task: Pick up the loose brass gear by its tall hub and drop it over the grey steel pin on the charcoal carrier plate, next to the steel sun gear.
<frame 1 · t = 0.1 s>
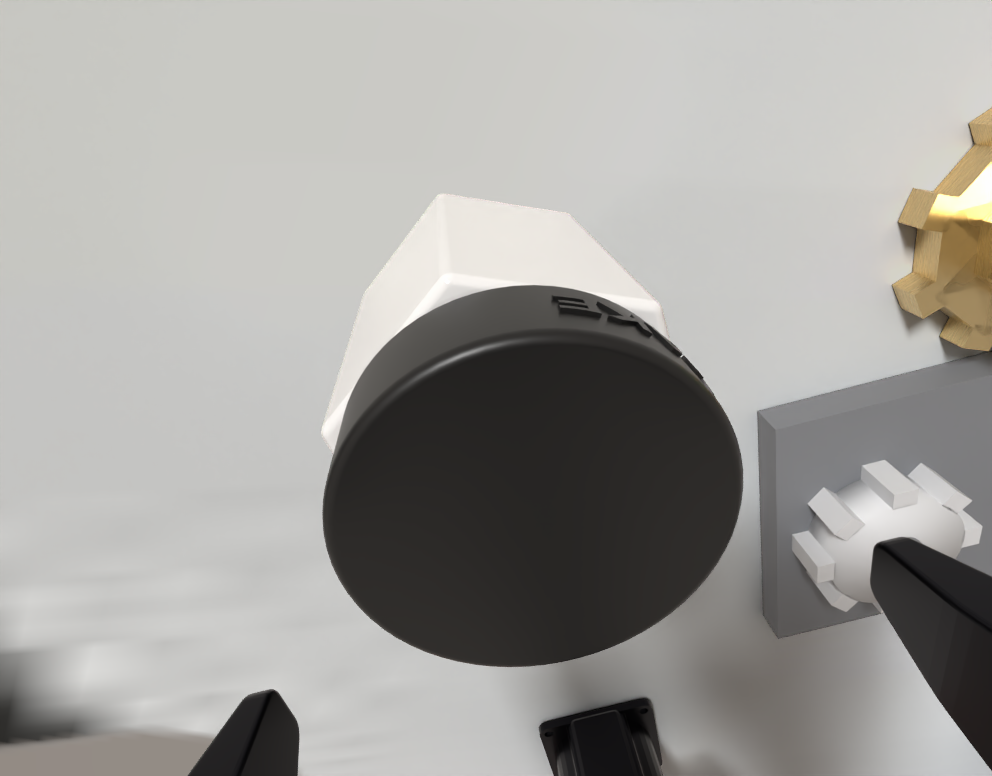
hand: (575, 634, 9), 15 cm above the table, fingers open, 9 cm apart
carrier plate: (947, 477, 28), on the table
jar: (486, 308, 22), on the table
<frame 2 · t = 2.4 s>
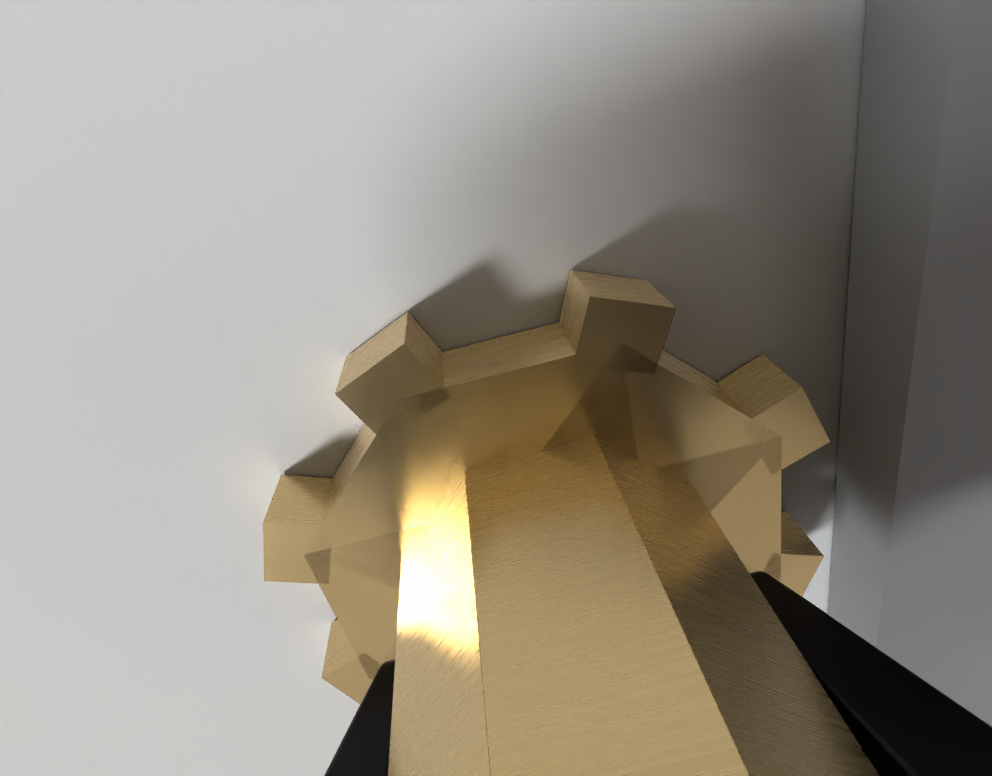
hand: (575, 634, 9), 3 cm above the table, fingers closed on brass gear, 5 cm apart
brass gear: (545, 520, 11), on the table, touching gripper
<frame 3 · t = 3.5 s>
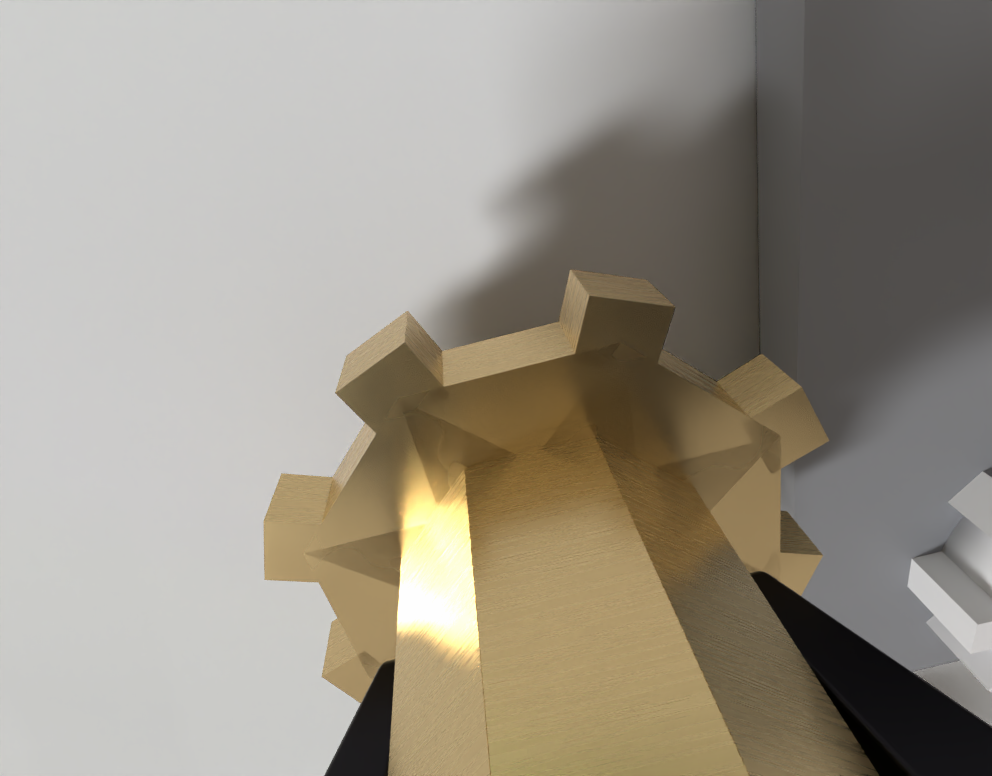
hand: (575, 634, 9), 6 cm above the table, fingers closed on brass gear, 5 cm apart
brass gear: (545, 519, 11), point 3 cm above the table, touching gripper
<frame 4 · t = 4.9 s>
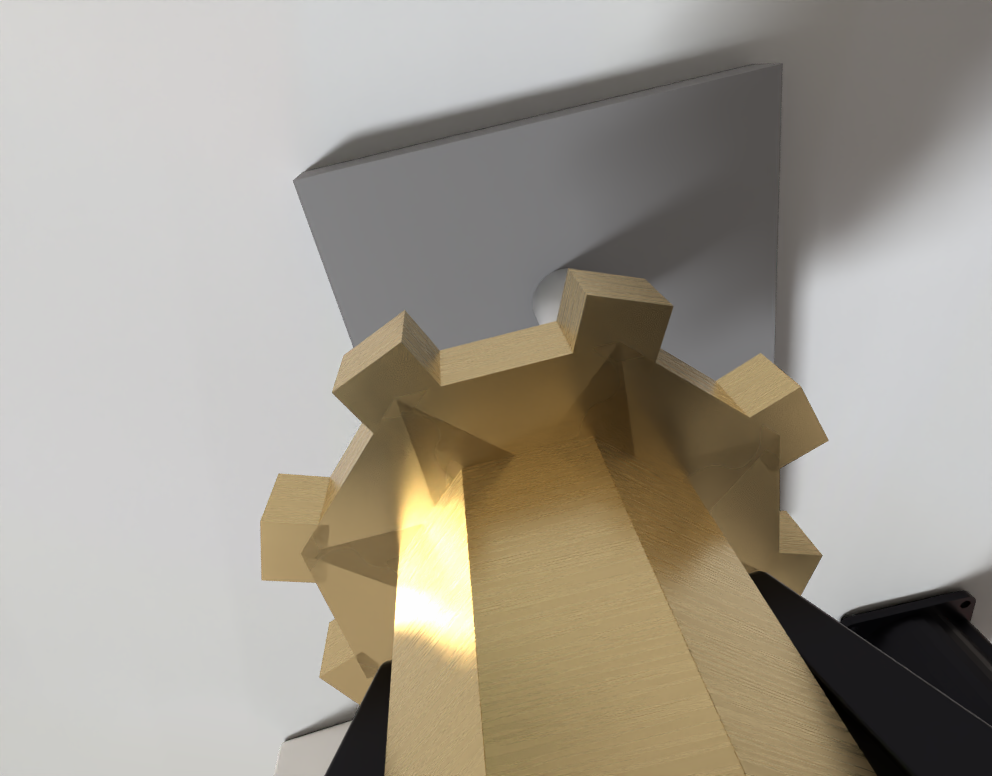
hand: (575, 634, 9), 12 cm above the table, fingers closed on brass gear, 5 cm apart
carrier plate: (573, 390, 21), on the table
brass gear: (543, 519, 11), point 10 cm above the table, touching gripper
jar: (359, 763, 30), on the table
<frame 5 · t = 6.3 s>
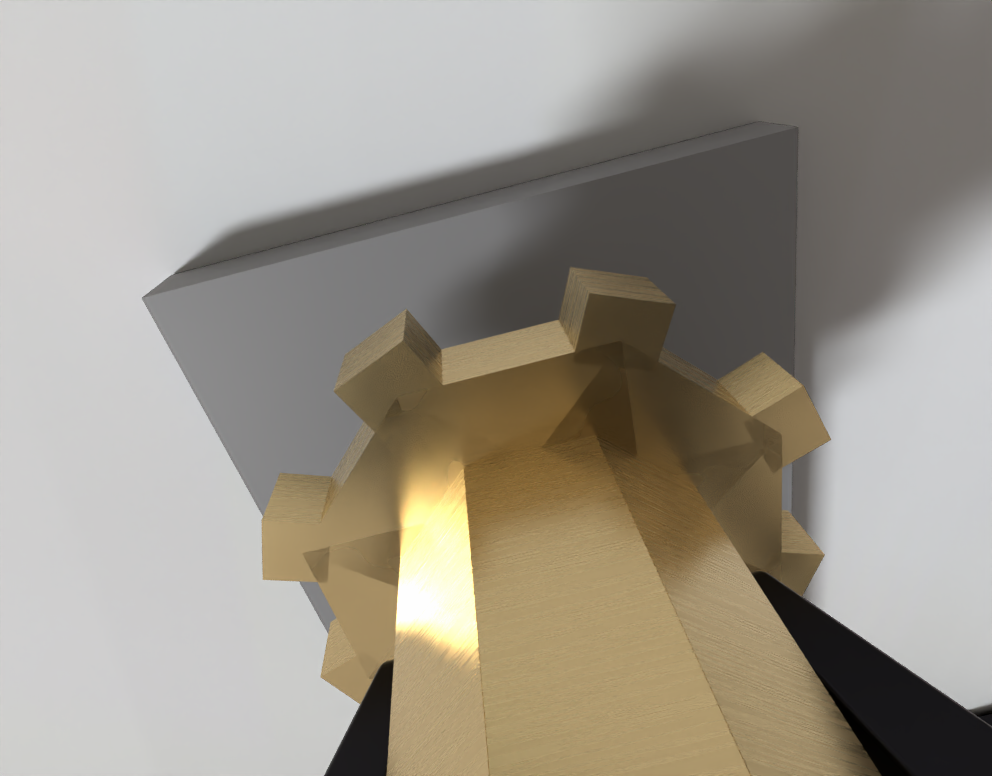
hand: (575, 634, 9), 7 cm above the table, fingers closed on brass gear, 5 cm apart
carrier plate: (541, 513, 17), on the table
brass gear: (545, 519, 11), point 5 cm above the table, touching gripper
when the fingers open (5 cm above the table, at t = 7.2 s): brass gear stays where it is, resting on carrier plate.
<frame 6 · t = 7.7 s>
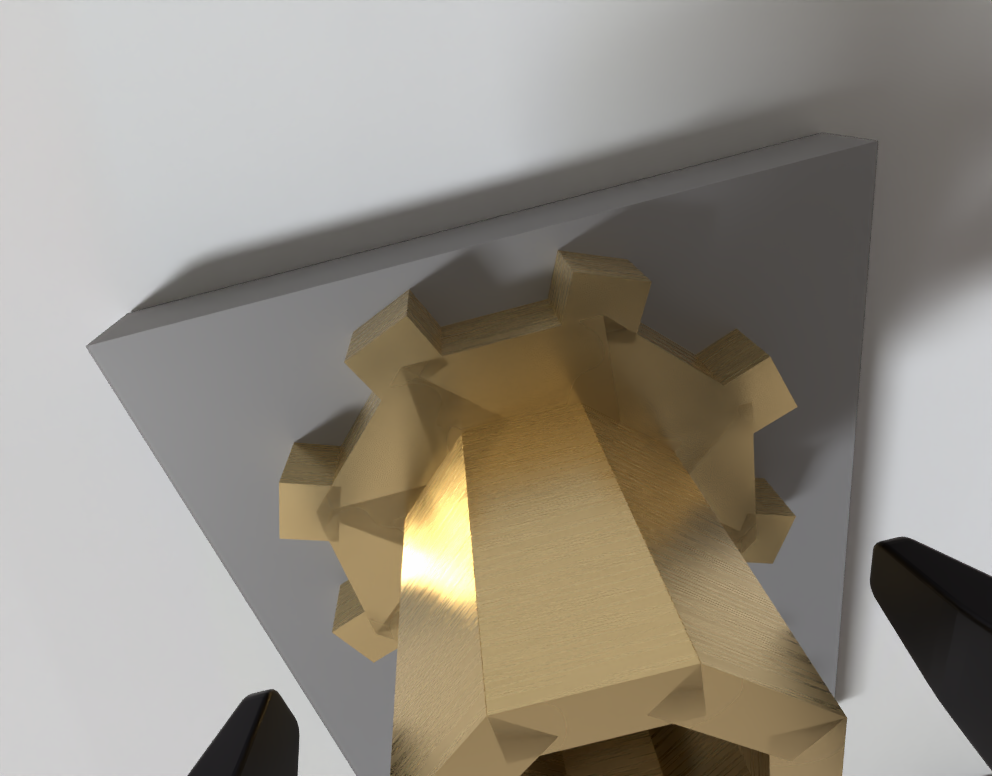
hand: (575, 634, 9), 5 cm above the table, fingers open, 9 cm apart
carrier plate: (557, 572, 15), on the table
brass gear: (538, 486, 12), point 1 cm above the table, touching carrier plate
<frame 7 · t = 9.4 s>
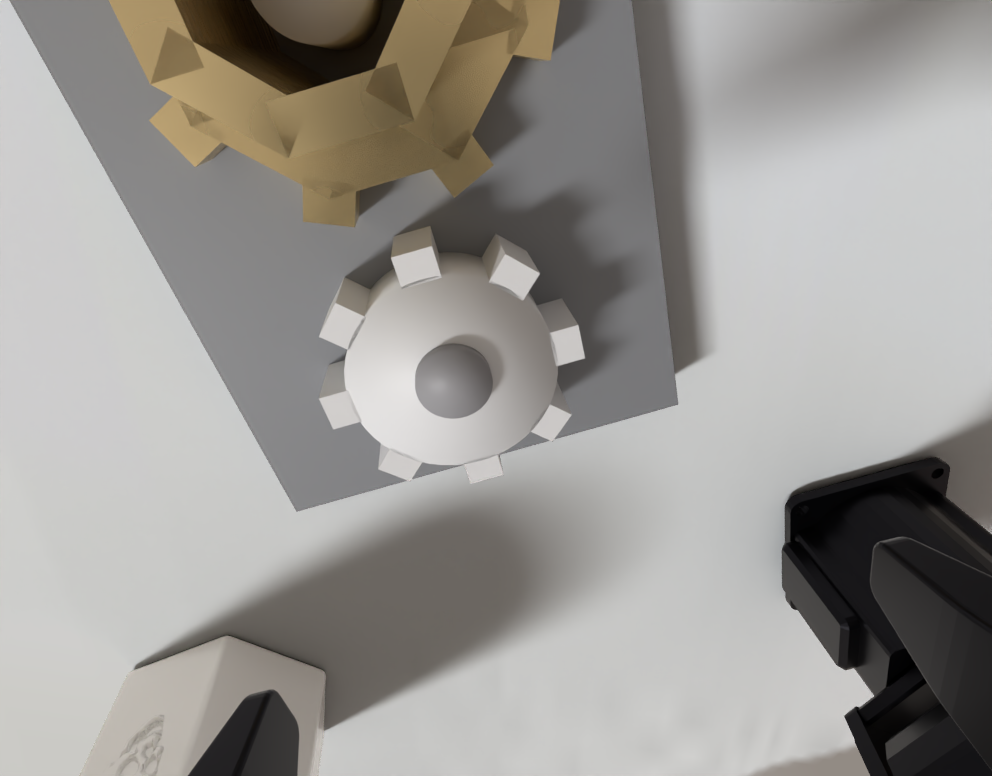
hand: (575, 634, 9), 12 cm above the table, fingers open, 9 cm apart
carrier plate: (397, 172, 16), on the table
jar: (234, 698, 26), on the table
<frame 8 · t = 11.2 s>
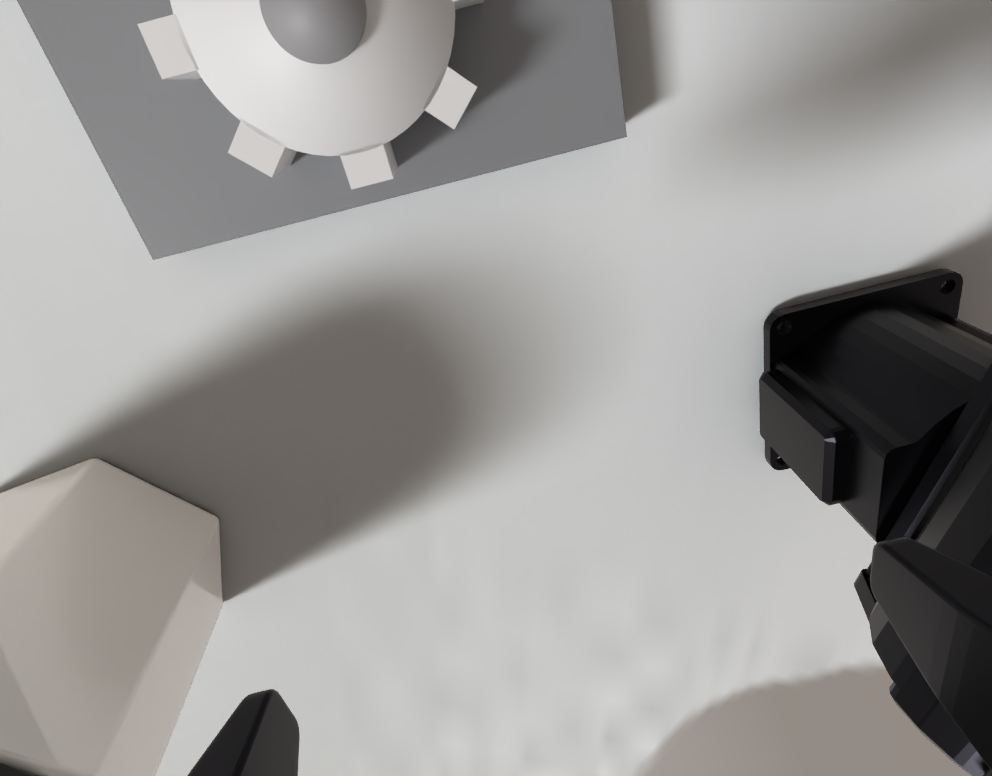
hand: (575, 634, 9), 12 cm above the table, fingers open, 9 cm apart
jar: (114, 550, 22), on the table
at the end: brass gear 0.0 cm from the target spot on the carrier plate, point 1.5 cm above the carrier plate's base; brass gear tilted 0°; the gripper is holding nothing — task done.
